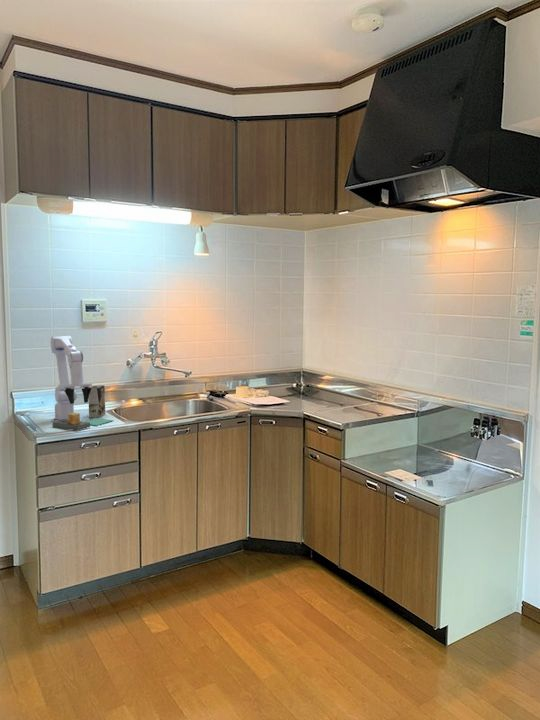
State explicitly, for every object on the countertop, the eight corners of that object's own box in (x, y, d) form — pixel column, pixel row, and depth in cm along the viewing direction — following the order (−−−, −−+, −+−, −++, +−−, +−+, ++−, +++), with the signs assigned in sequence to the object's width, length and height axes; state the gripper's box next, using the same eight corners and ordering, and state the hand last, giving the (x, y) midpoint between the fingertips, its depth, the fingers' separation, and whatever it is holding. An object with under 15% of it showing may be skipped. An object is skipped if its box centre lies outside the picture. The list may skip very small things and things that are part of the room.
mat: (79, 423, 281) (78, 422, 281) (96, 418, 291) (96, 417, 291) (96, 426, 275) (96, 425, 275) (113, 421, 286) (113, 420, 286)
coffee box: (100, 417, 294) (99, 388, 292) (88, 417, 294) (87, 387, 292) (106, 413, 303) (104, 385, 301) (94, 413, 303) (93, 385, 301)
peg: (68, 428, 272) (67, 414, 271) (74, 426, 275) (73, 412, 274) (73, 429, 270) (73, 415, 269) (80, 427, 274) (79, 413, 273)
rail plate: (52, 426, 274) (52, 421, 274) (65, 423, 281) (65, 418, 281) (77, 431, 266) (77, 425, 266) (89, 427, 273) (89, 422, 273)
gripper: (58, 377, 268) (61, 404, 268) (85, 375, 265) (88, 403, 265) (67, 376, 275) (69, 403, 275) (93, 374, 272) (95, 401, 272)
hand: (79, 403), depth 270 cm, fingers open, 7 cm apart
